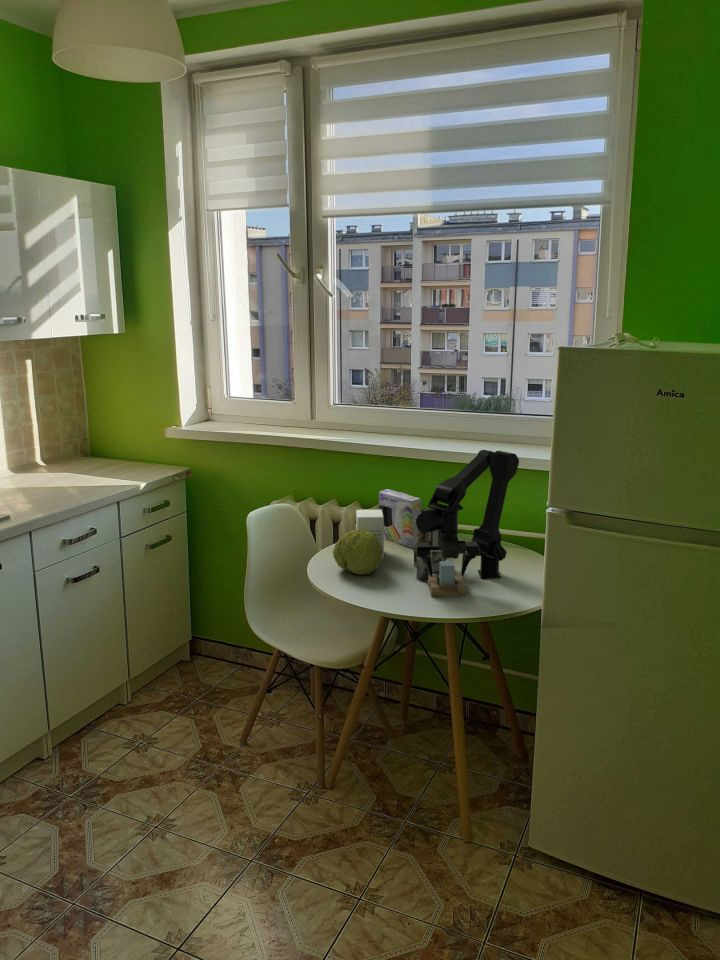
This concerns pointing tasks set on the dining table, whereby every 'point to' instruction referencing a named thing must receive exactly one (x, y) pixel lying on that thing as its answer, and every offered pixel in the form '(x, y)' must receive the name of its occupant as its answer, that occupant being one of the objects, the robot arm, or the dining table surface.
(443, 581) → the square peg
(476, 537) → the robot arm
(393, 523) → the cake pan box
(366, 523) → the supplement box
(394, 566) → the dining table surface
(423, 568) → the round peg
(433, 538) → the coffee box
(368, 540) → the fruit
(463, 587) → the socket block
